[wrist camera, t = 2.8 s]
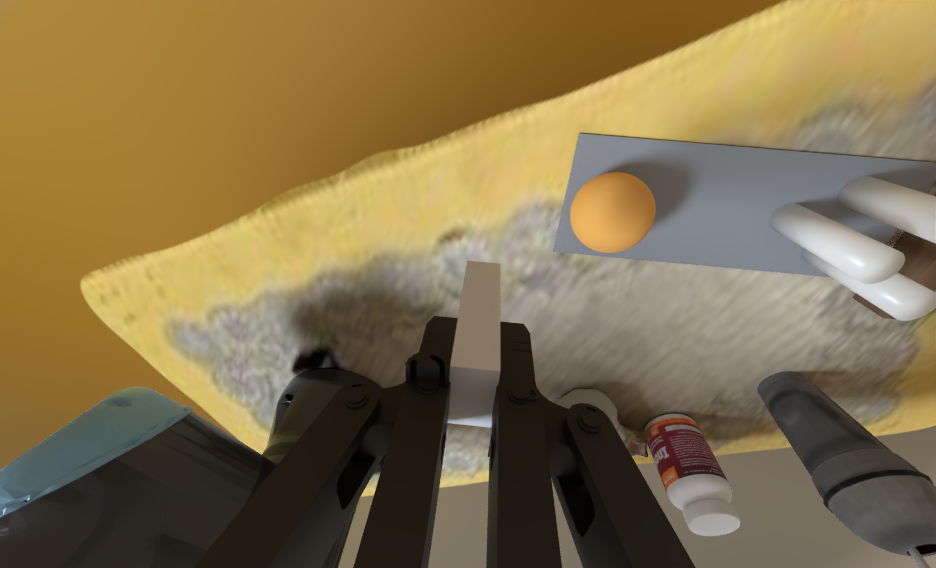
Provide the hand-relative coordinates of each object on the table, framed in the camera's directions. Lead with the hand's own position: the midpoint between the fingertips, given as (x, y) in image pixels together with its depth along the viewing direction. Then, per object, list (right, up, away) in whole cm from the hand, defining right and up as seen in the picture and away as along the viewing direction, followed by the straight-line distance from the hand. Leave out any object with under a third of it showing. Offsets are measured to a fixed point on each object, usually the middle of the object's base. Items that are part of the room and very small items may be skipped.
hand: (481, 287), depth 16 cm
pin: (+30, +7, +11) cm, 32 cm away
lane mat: (+21, +6, +12) cm, 25 cm away
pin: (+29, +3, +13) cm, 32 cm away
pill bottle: (+25, -18, +27) cm, 41 cm away
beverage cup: (+34, -11, +22) cm, 42 cm away
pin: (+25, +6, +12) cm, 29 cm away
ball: (+10, +6, +10) cm, 15 cm away
